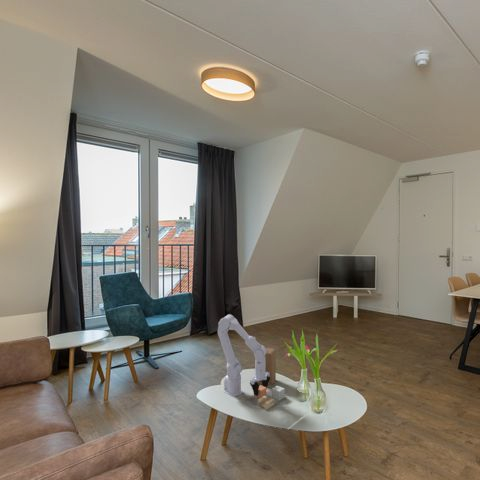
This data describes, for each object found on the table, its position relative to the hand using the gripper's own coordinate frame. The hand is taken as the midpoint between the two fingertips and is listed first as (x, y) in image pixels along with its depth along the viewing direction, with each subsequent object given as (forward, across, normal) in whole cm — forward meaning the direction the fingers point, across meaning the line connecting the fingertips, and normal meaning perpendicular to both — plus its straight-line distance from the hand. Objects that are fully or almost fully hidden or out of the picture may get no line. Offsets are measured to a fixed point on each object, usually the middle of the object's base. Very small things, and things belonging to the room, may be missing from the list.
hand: (260, 392), depth 180 cm
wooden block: (+3, +17, +9) cm, 19 cm away
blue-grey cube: (+2, +6, -8) cm, 10 cm away
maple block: (+2, -5, -8) cm, 10 cm away
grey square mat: (+2, 0, -4) cm, 5 cm away
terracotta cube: (+2, 0, 0) cm, 2 cm away
